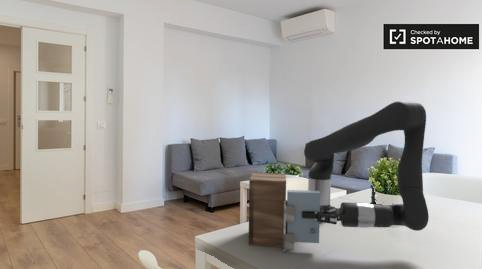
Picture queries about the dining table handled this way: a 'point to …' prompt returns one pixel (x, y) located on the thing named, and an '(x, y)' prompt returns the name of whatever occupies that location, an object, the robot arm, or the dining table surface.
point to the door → (301, 227)
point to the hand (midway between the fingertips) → (301, 213)
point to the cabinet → (269, 211)
